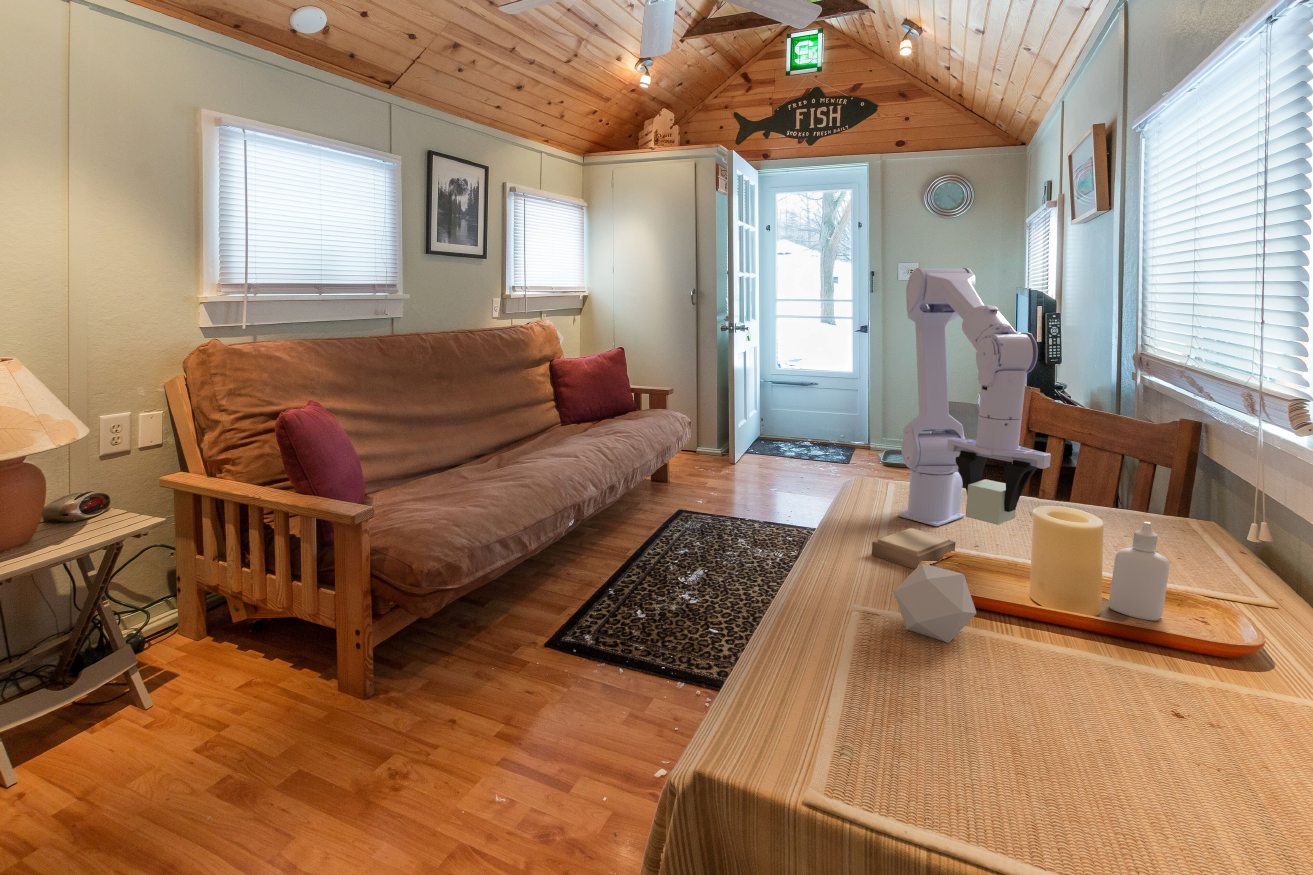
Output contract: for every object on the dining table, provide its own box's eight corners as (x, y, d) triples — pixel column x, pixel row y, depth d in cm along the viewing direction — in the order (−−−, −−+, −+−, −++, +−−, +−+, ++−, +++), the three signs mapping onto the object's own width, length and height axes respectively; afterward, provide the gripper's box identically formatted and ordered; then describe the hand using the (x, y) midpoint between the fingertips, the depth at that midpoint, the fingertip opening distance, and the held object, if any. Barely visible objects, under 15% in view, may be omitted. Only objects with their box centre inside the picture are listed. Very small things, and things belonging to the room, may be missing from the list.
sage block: (982, 510, 111) (985, 479, 110) (1014, 518, 107) (1017, 485, 106) (965, 516, 108) (968, 484, 107) (998, 524, 104) (1001, 491, 103)
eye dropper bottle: (1128, 601, 94) (1140, 514, 92) (1168, 620, 89) (1182, 528, 87) (1101, 605, 93) (1113, 517, 91) (1141, 624, 88) (1155, 531, 85)
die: (984, 638, 86) (956, 560, 90) (986, 631, 78) (955, 547, 82) (915, 653, 88) (890, 576, 92) (910, 648, 81) (884, 565, 85)
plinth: (908, 541, 117) (909, 526, 117) (954, 555, 111) (955, 539, 110) (871, 554, 111) (872, 539, 111) (917, 570, 105) (919, 553, 104)
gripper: (939, 412, 108) (932, 499, 111) (1038, 427, 97) (1027, 523, 99) (963, 408, 112) (956, 491, 115) (1061, 421, 101) (1050, 513, 104)
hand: (991, 505), depth 107 cm, fingers closed on sage block, 5 cm apart
